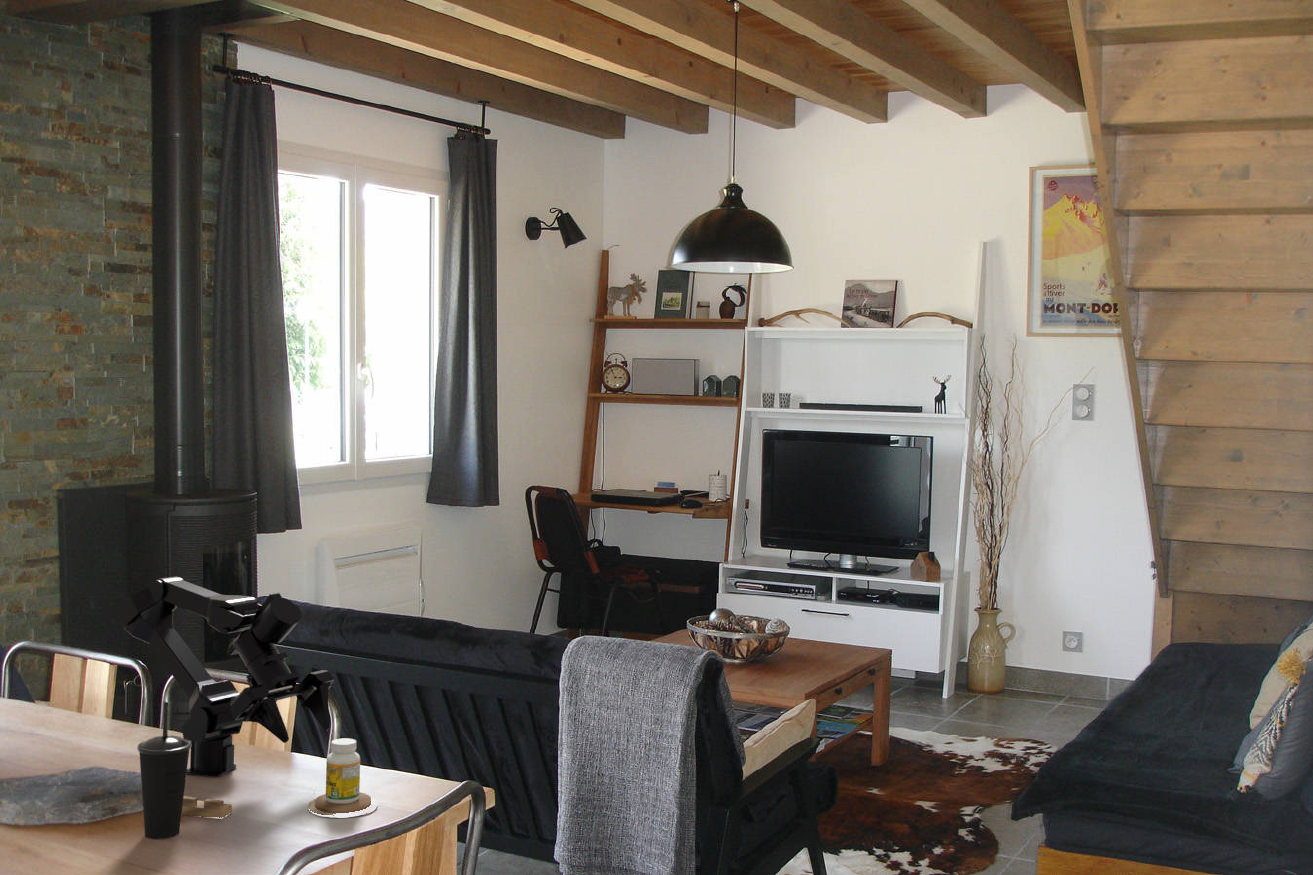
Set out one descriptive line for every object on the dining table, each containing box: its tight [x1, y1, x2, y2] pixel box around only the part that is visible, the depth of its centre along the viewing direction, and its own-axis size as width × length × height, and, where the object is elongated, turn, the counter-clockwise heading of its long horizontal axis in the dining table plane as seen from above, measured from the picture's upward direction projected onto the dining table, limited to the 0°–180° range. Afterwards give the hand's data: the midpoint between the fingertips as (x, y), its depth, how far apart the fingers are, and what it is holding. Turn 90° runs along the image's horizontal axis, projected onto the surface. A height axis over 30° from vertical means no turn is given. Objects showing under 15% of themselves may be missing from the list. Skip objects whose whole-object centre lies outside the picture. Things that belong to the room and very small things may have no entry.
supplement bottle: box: [325, 737, 361, 804], centre depth 203 cm, size 5×5×10 cm
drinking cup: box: [137, 701, 192, 840], centre depth 188 cm, size 8×8×20 cm
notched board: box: [181, 795, 233, 818], centre depth 197 cm, size 8×3×3 cm, turn 78°
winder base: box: [307, 791, 372, 816], centre depth 203 cm, size 11×11×1 cm
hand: (307, 735), depth 207 cm, fingers open, 9 cm apart
